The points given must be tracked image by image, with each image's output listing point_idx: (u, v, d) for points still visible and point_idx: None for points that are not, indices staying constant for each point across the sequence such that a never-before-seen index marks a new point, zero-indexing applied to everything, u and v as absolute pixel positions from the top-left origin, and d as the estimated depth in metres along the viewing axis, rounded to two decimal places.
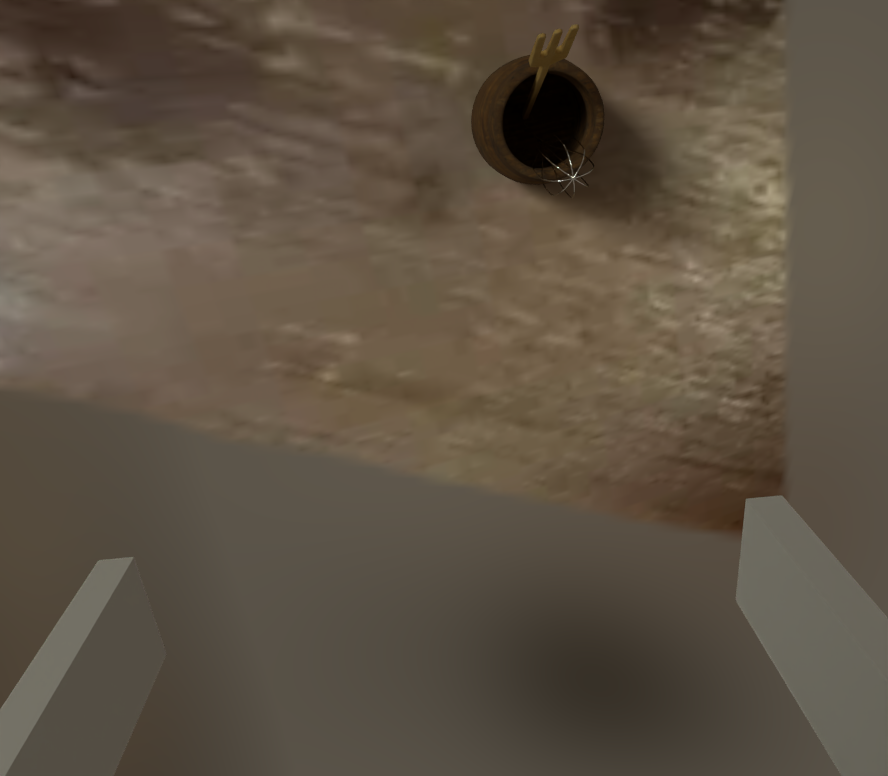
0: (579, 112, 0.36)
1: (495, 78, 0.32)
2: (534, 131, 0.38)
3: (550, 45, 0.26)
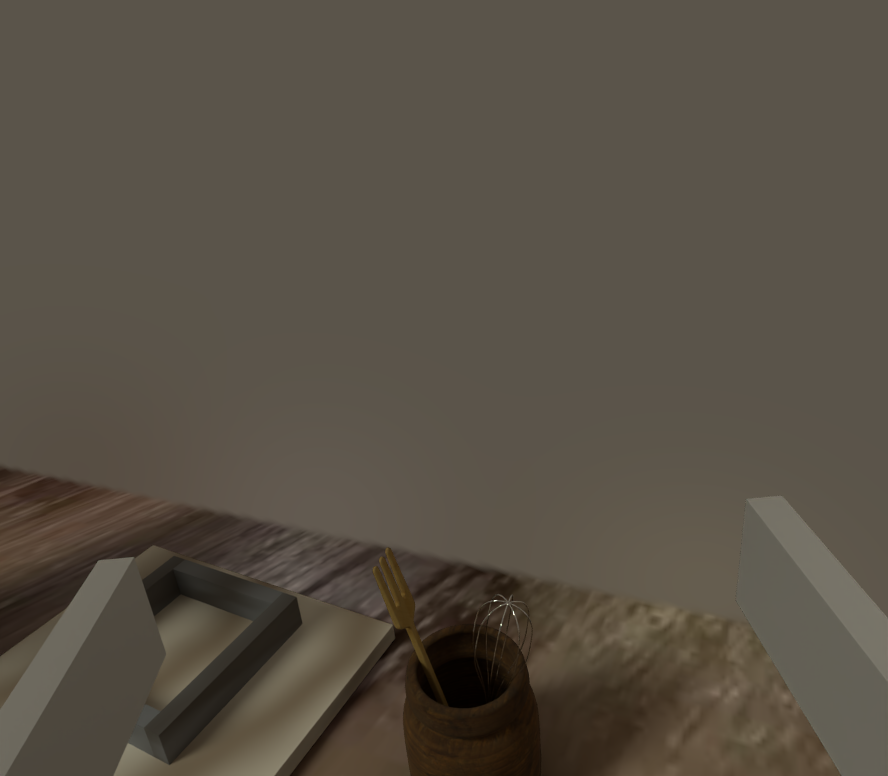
0: None
1: (405, 724, 0.30)
2: None
3: (390, 584, 0.29)
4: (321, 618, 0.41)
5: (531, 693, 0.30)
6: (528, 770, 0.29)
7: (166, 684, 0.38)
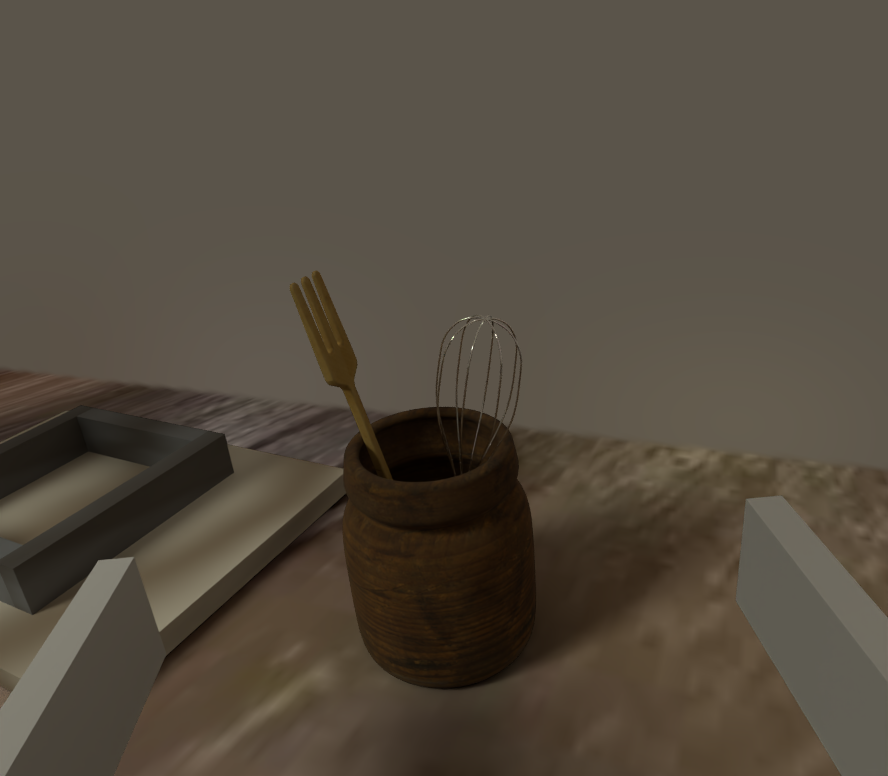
0: None
1: (344, 530, 0.21)
2: None
3: (319, 318, 0.20)
4: (258, 466, 0.33)
5: (521, 489, 0.21)
6: (517, 589, 0.21)
7: None
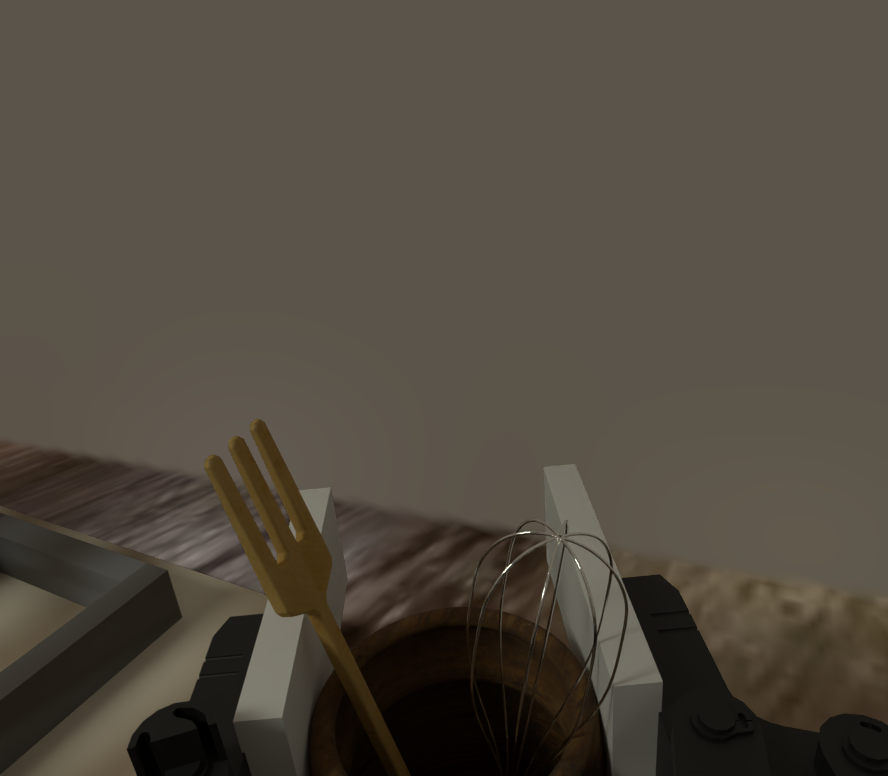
0: None
1: None
2: None
3: (262, 505, 0.12)
4: (215, 608, 0.24)
5: None
6: None
7: None
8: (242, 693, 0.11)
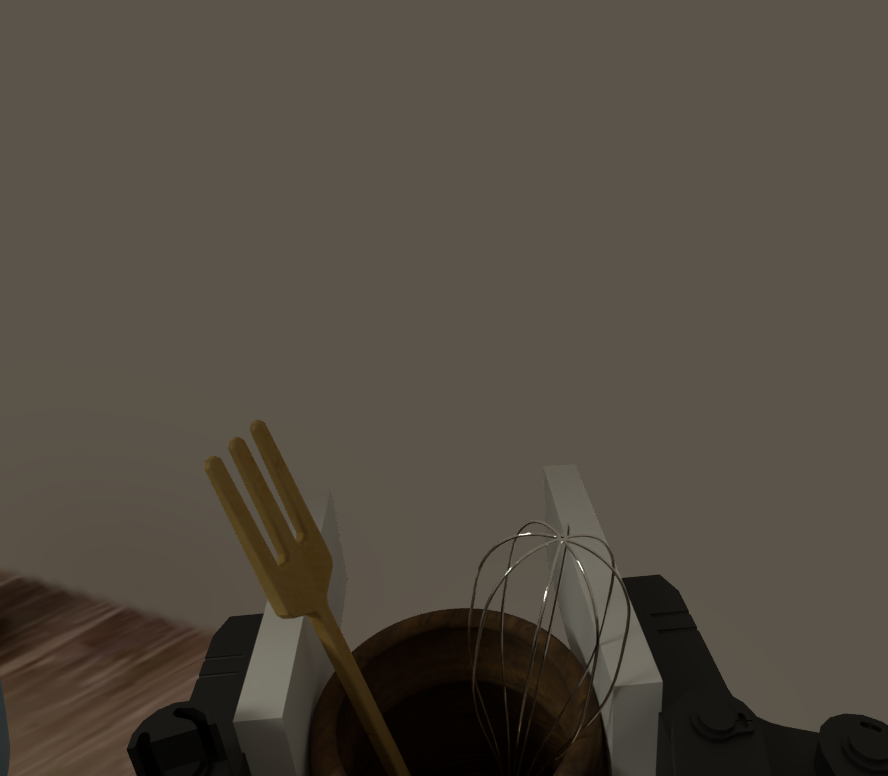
0: None
1: None
2: None
3: (262, 506, 0.12)
4: None
5: None
6: None
7: None
8: (242, 693, 0.11)
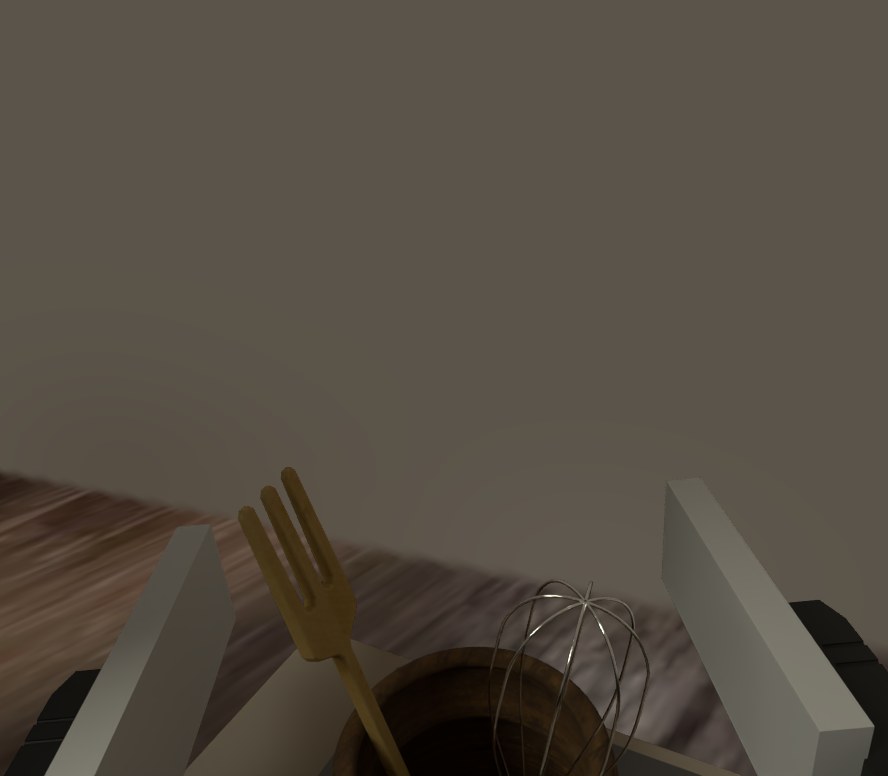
0: None
1: None
2: None
3: (291, 553, 0.12)
4: None
5: None
6: None
7: None
8: (49, 769, 0.10)
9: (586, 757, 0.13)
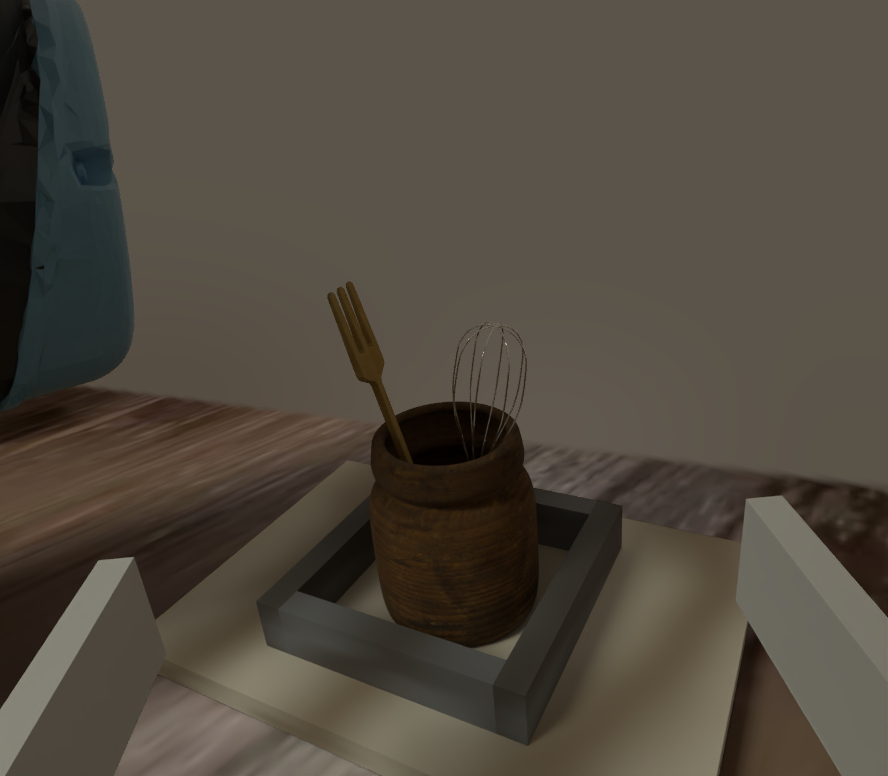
0: None
1: (370, 508, 0.24)
2: None
3: (352, 323, 0.23)
4: (645, 540, 0.29)
5: (527, 474, 0.24)
6: (522, 562, 0.23)
7: None
8: None
9: None
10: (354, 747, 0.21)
